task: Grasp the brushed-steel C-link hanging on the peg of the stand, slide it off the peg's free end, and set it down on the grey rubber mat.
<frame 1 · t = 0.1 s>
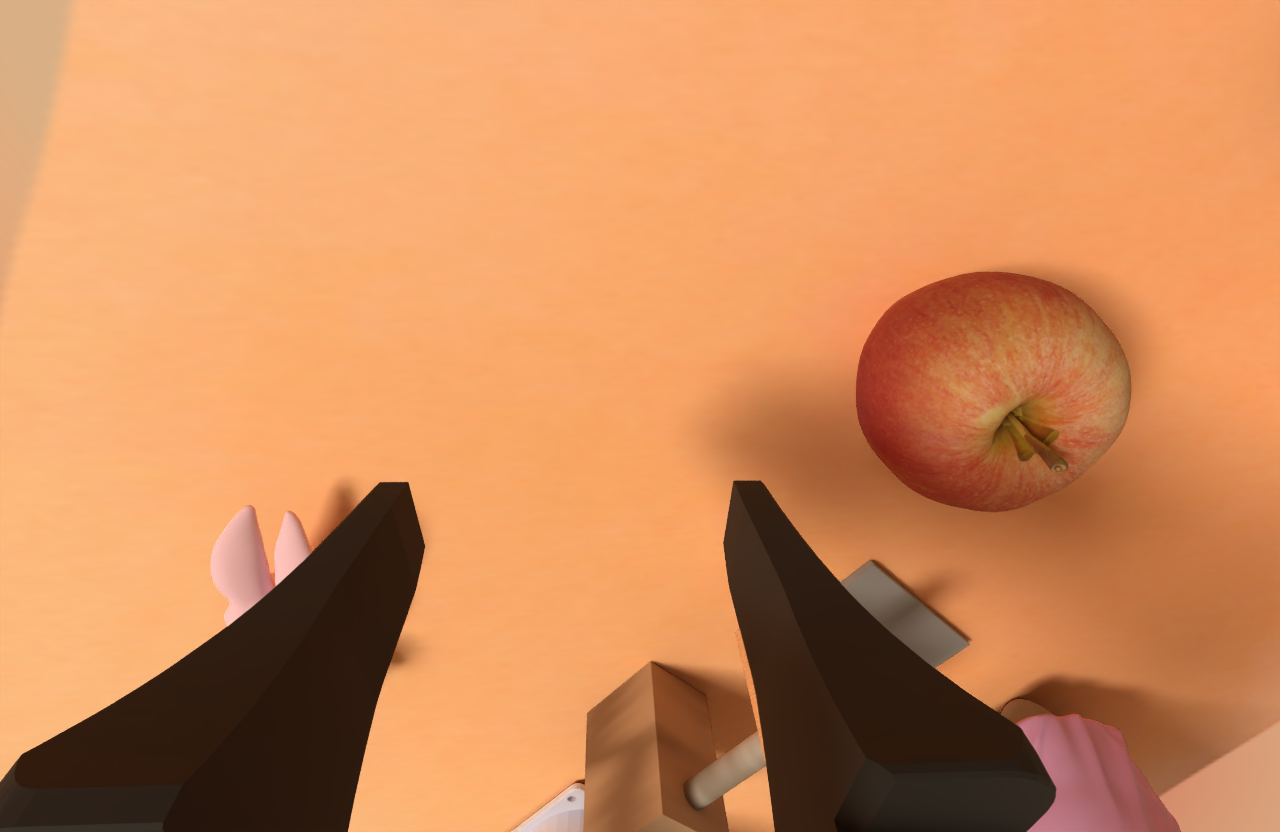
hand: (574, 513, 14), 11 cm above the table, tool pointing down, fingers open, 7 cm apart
stand: (646, 704, 32), on the table
mat: (856, 646, 31), on the table
toy character: (992, 735, 35), on the table
apple: (926, 351, 24), on the table
link: (786, 649, 27), point 3 cm above the table, touching stand
rabbit figure: (309, 601, 28), on the table
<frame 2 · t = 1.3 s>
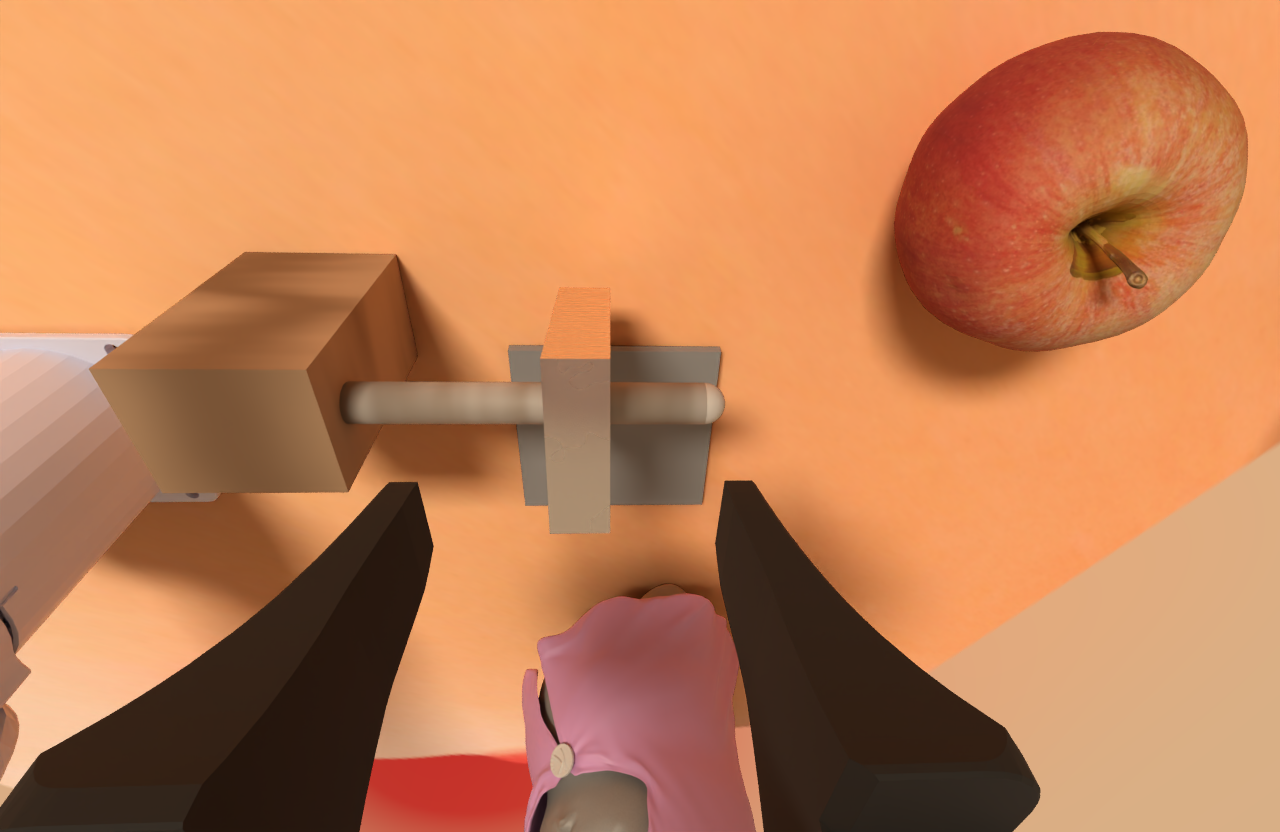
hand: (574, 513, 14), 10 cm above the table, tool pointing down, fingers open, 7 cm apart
stand: (336, 307, 22), on the table
mat: (614, 429, 25), on the table
toy character: (621, 606, 33), on the table
apple: (978, 172, 20), on the table
link: (586, 361, 20), point 3 cm above the table, tilted 9°, touching stand
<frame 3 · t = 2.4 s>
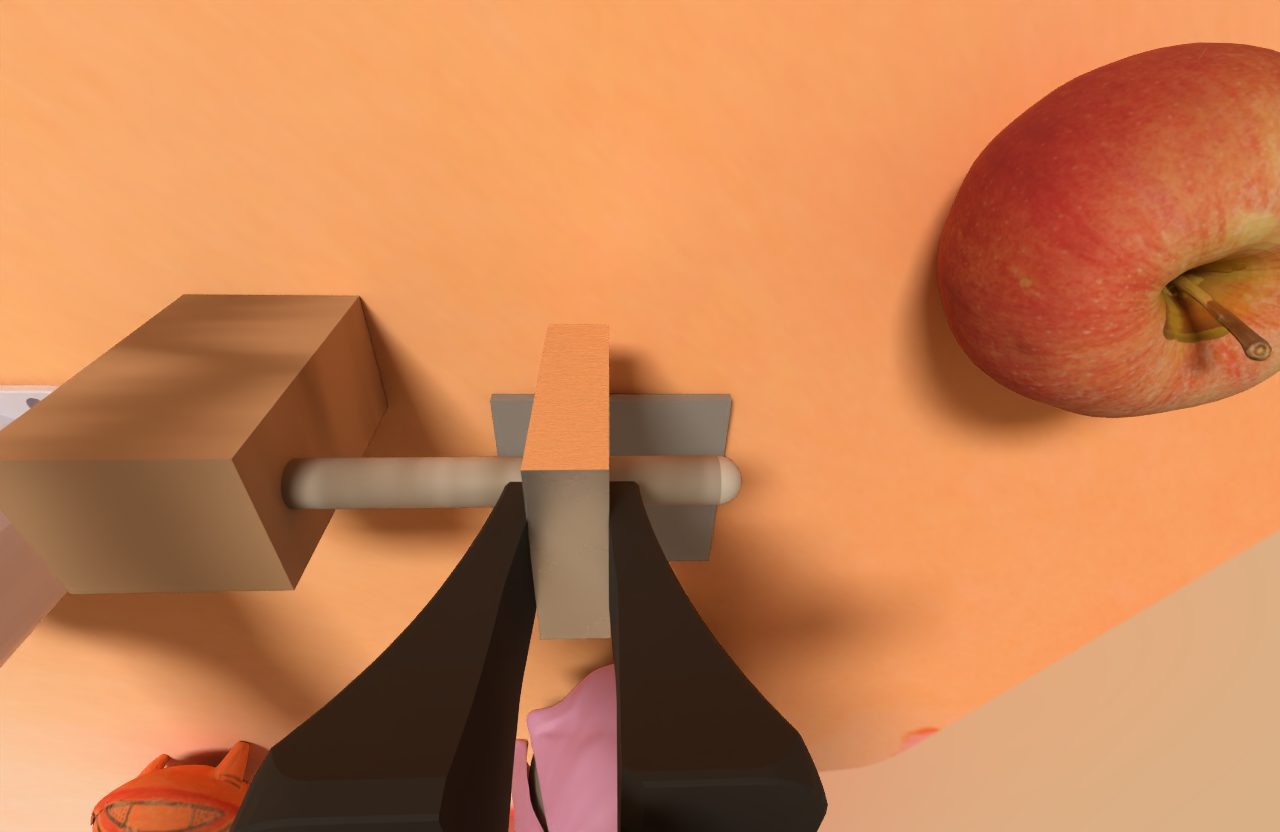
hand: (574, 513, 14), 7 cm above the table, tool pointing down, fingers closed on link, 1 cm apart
stand: (292, 354, 19), on the table
mat: (611, 482, 23), on the table
toy character: (620, 662, 30), on the table
apple: (1030, 201, 17), on the table
link: (581, 403, 17), point 3 cm above the table, touching gripper, stand
pot: (217, 755, 34), on the table
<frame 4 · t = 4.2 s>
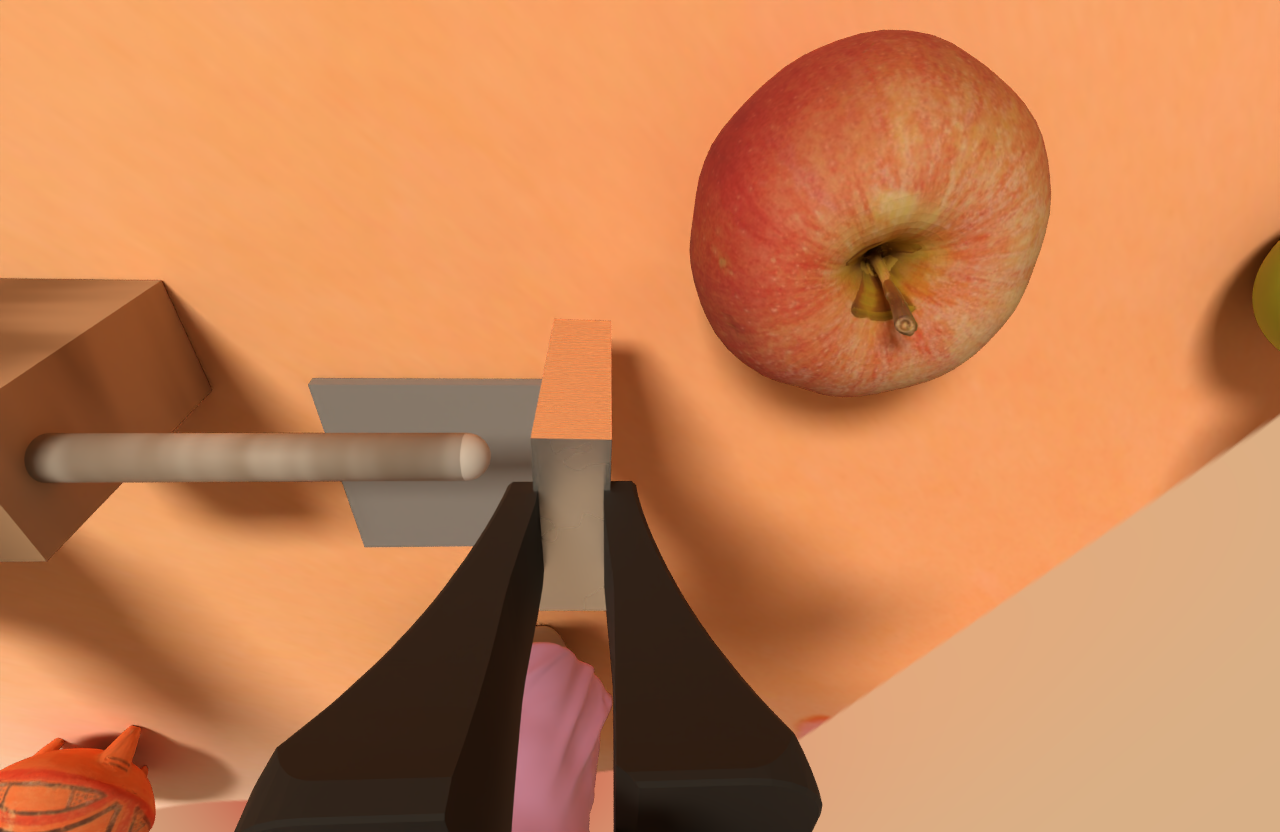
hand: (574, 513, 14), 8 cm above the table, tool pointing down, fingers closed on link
stand: (107, 338, 19), on the table
mat: (450, 466, 23), on the table
snail figurine: (1279, 261, 20), on the table
toy character: (497, 648, 30), on the table
apple: (810, 188, 18), on the table
link: (582, 396, 18), point 3 cm above the table, touching gripper
pot: (113, 740, 34), on the table
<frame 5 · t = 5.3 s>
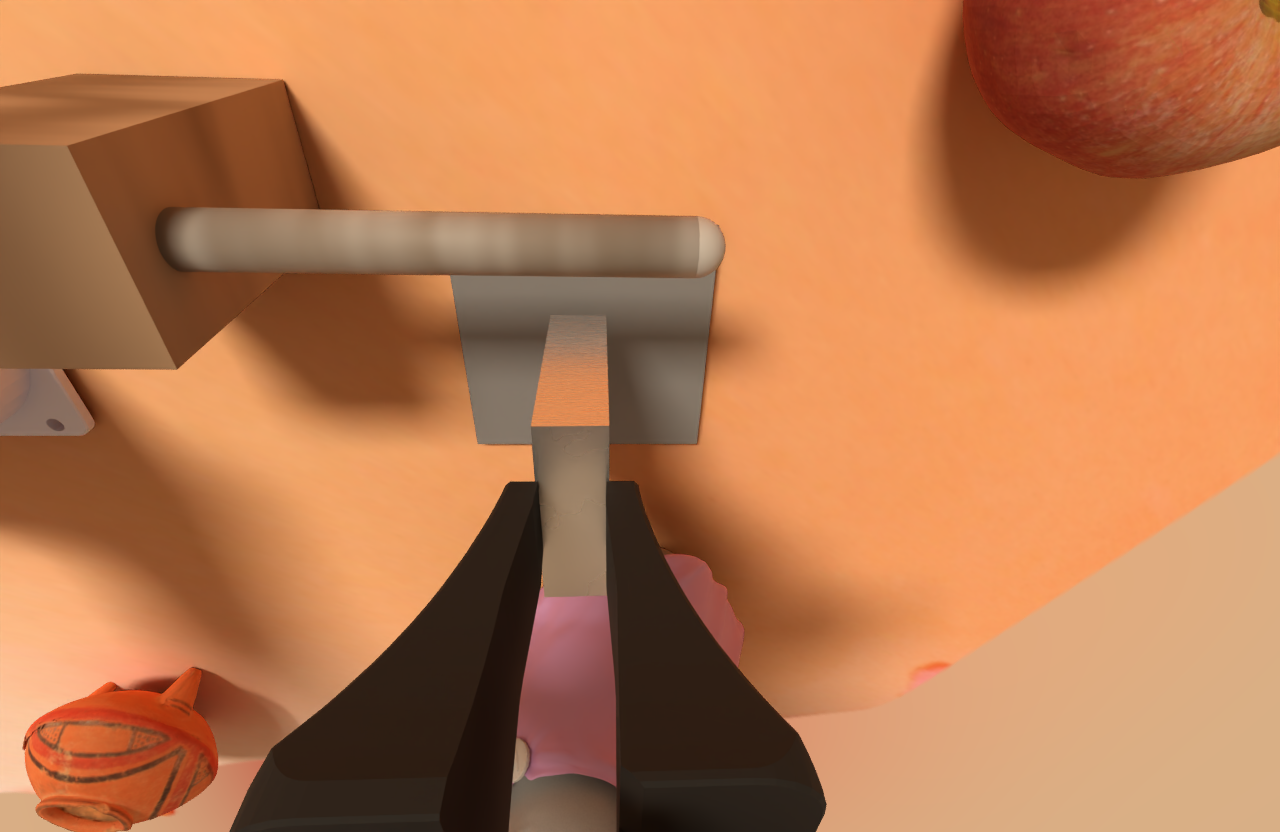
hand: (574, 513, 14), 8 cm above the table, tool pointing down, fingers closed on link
stand: (211, 160, 16), on the table
mat: (586, 342, 20), on the table
toy character: (602, 577, 27), on the table
link: (580, 390, 19), point 2 cm above the table, touching gripper
pot: (169, 685, 31), on the table
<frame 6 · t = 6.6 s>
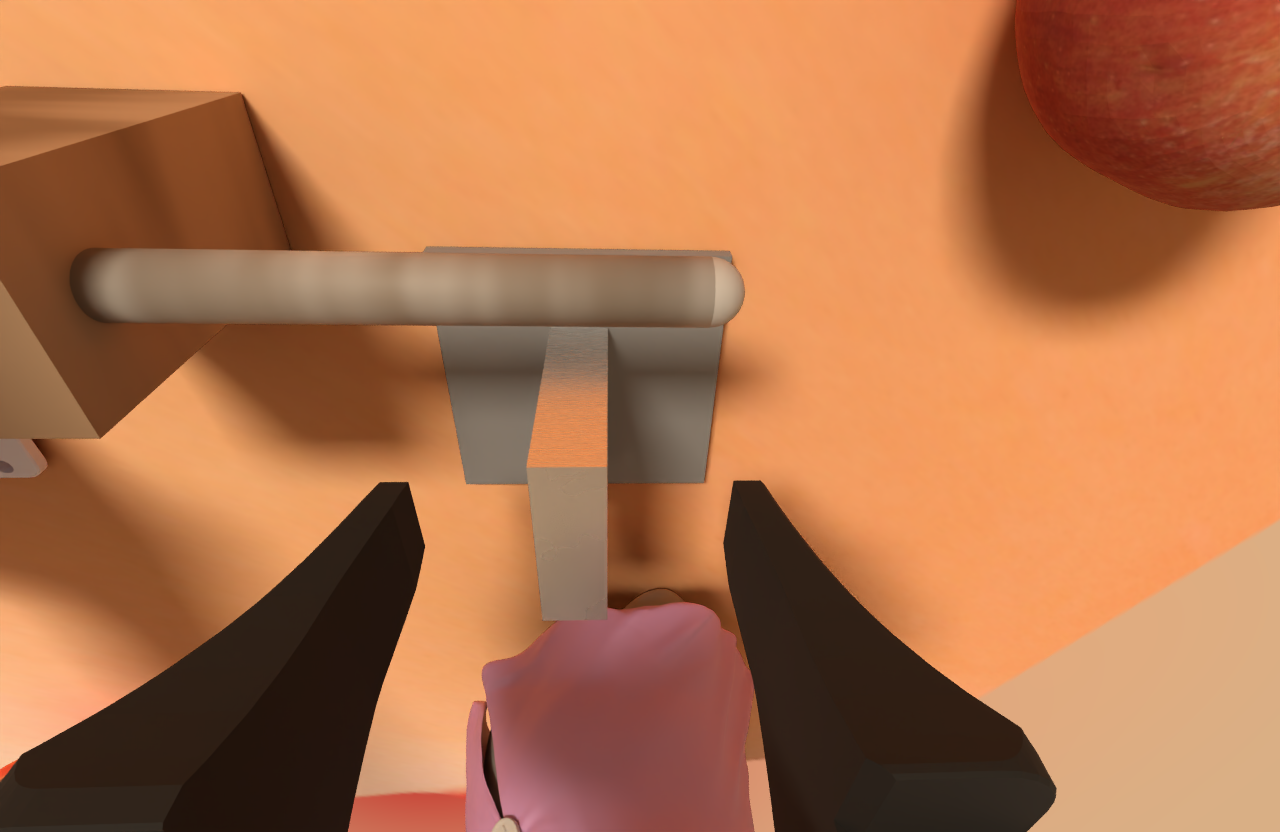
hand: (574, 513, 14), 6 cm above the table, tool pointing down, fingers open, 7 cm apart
stand: (163, 182, 15), on the table
mat: (583, 376, 18), on the table
toy character: (601, 617, 26), on the table
link: (581, 400, 18), resting on mat
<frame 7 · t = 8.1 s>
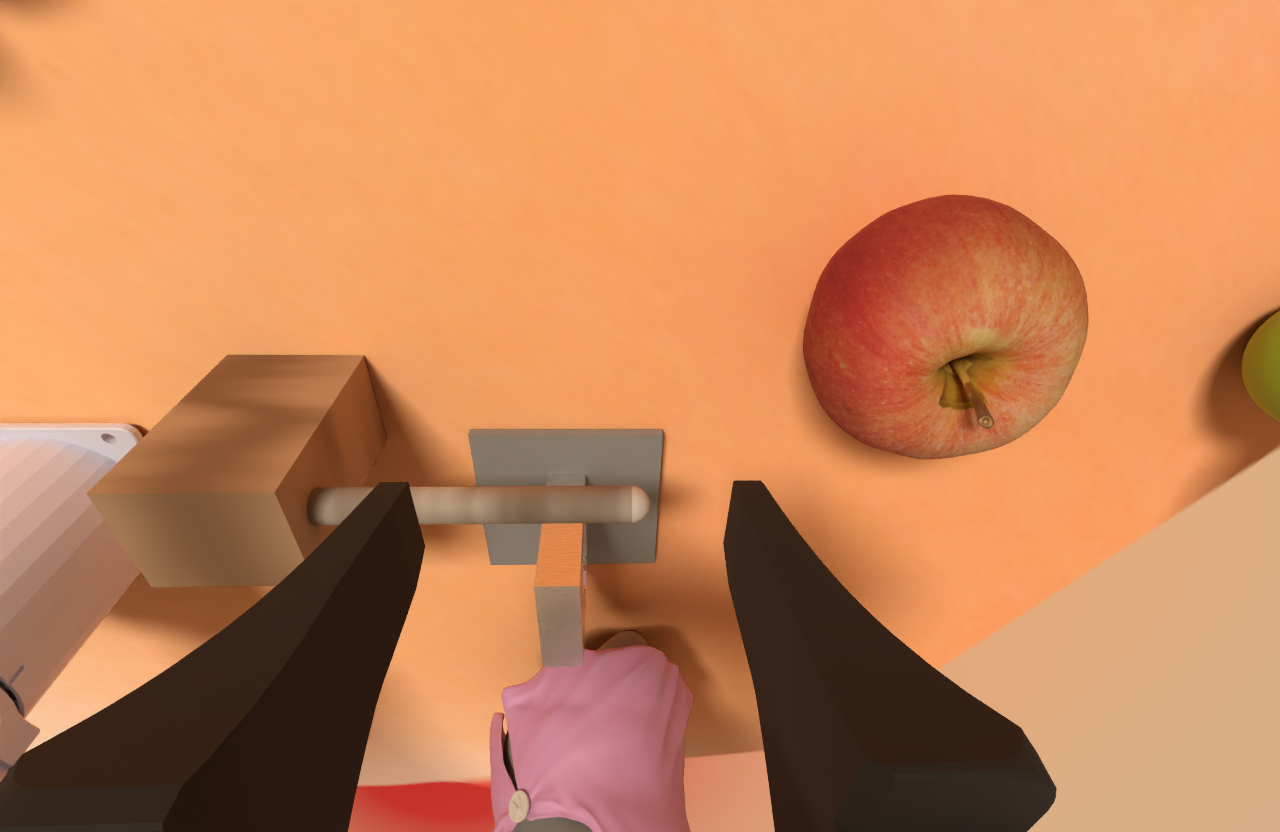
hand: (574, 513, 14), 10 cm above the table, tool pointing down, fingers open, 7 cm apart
stand: (311, 399, 24), on the table
mat: (570, 498, 28), on the table
snail figurine: (1264, 336, 24), on the table
toy character: (586, 650, 35), on the table
apple: (887, 284, 22), on the table
link: (569, 514, 28), resting on mat
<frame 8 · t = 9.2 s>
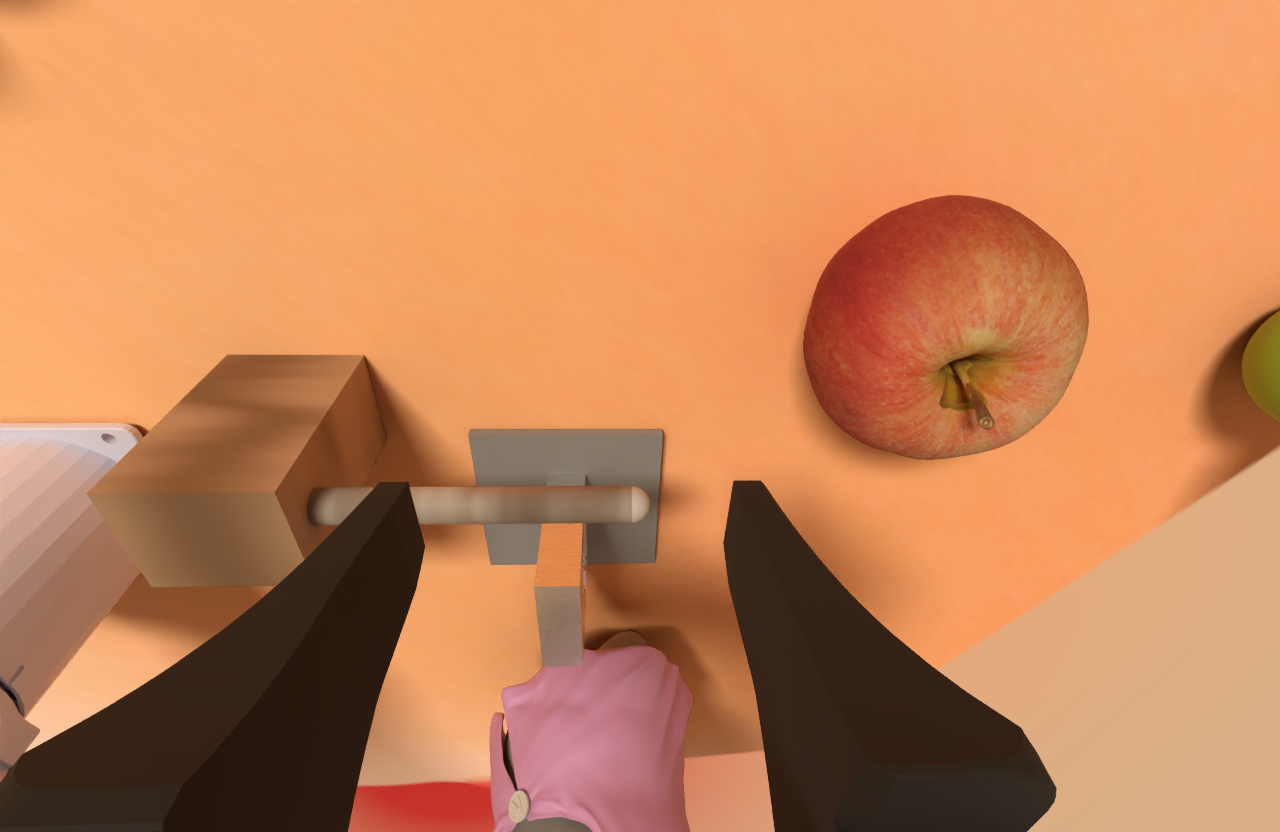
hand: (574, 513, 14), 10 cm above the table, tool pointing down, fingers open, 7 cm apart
stand: (311, 399, 24), on the table
mat: (570, 498, 28), on the table
snail figurine: (1264, 336, 24), on the table
toy character: (586, 650, 35), on the table
apple: (887, 284, 22), on the table
link: (569, 514, 28), resting on mat
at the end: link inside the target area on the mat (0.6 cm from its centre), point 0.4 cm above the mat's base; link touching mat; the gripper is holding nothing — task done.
